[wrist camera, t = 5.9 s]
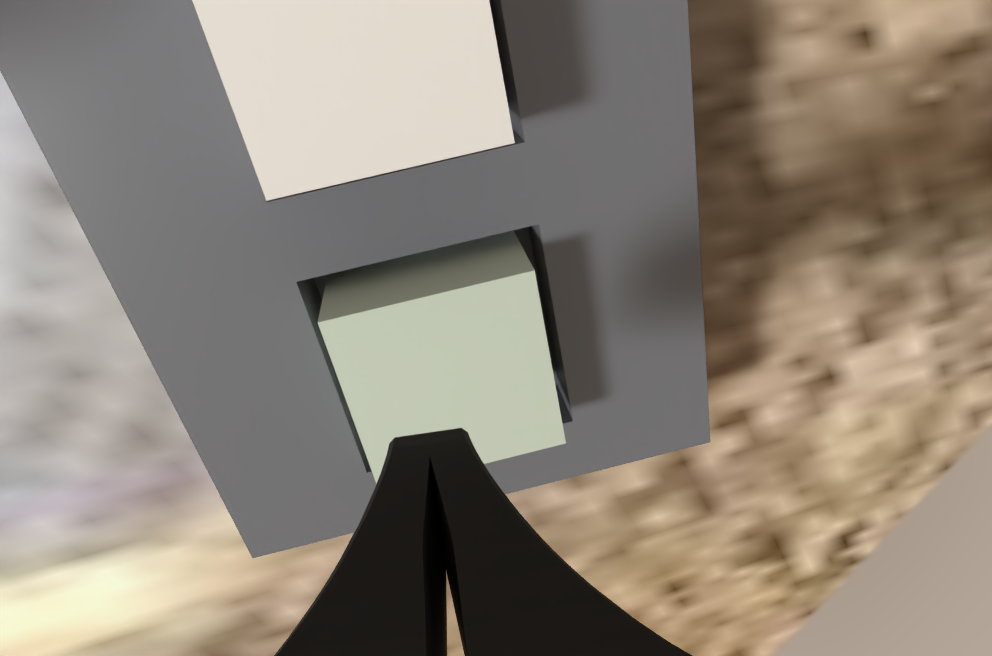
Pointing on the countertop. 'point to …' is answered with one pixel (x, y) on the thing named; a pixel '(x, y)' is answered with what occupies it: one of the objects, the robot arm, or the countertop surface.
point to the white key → (357, 85)
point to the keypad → (380, 238)
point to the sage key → (445, 349)
